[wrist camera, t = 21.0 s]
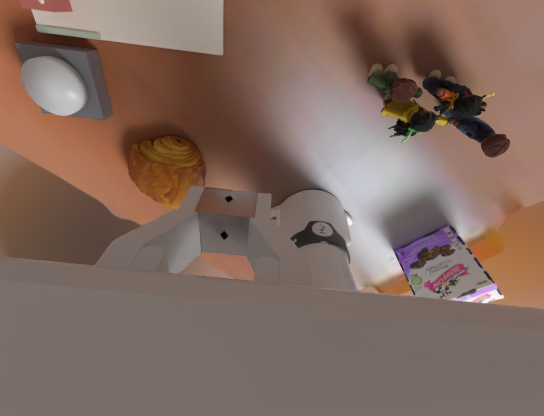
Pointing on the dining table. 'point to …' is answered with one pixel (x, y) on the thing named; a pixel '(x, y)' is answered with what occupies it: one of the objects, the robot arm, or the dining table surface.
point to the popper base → (84, 64)
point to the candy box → (446, 269)
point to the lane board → (142, 23)
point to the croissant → (166, 169)
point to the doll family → (455, 107)
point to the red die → (47, 5)
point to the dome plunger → (54, 85)
